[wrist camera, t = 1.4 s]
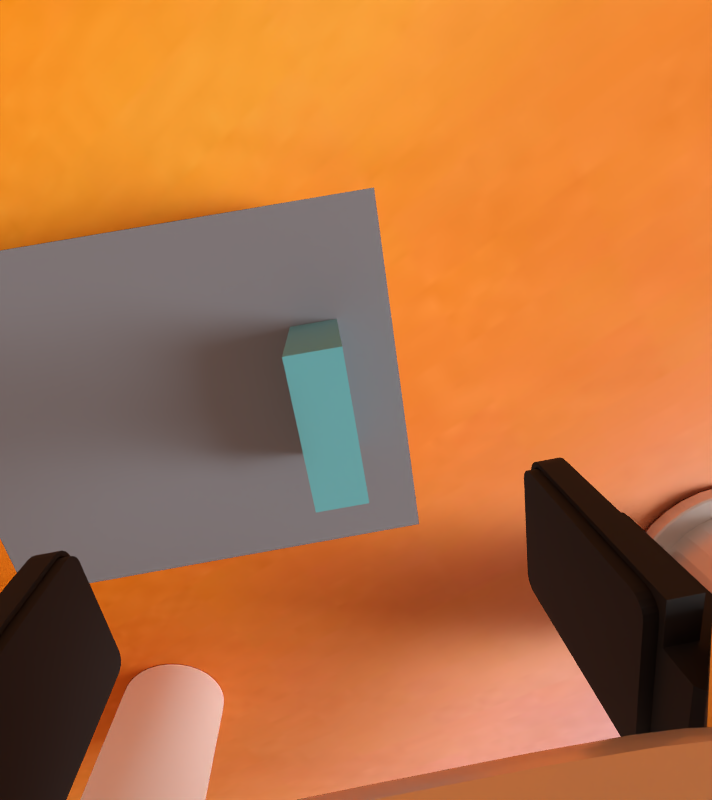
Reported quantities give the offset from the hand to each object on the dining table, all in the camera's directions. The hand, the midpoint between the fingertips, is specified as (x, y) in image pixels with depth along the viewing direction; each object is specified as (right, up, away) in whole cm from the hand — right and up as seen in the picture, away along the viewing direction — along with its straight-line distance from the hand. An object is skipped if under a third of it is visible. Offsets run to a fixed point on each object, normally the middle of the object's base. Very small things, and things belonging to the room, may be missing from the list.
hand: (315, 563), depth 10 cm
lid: (-7, +3, +13) cm, 15 cm away
